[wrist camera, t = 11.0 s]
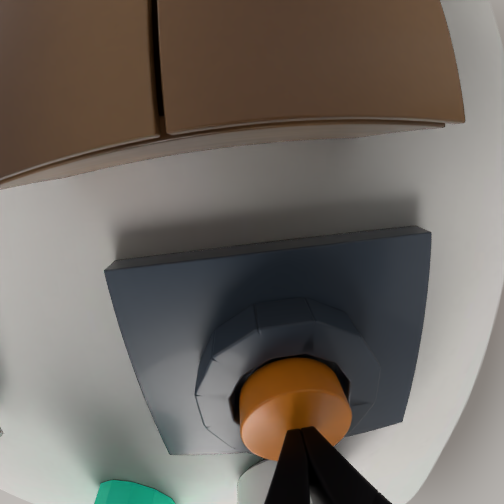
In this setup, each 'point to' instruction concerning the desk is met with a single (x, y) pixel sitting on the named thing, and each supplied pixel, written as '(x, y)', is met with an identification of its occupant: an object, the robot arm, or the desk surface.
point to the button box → (272, 326)
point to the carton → (108, 94)
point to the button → (291, 404)
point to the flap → (305, 62)
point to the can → (256, 483)
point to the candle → (129, 494)
